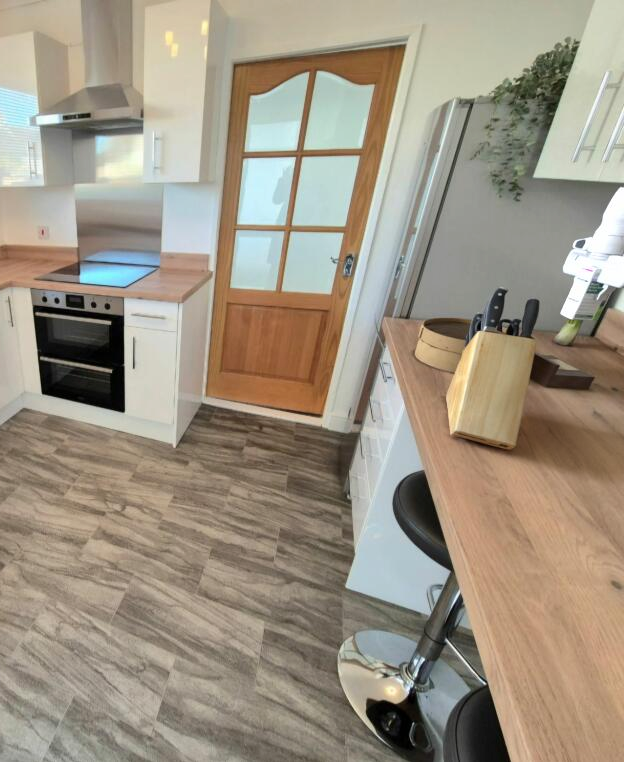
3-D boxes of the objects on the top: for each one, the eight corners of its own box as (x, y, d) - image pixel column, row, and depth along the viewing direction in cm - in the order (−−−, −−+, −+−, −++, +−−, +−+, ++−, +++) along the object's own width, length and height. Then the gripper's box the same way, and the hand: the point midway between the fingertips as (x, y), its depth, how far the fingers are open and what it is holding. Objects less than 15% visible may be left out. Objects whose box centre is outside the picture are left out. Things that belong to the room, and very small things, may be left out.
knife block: (492, 394, 120) (540, 285, 107) (511, 457, 94) (579, 323, 80) (443, 384, 126) (483, 279, 112) (448, 441, 100) (502, 313, 86)
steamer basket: (399, 358, 144) (409, 326, 139) (429, 342, 157) (439, 312, 152) (490, 384, 126) (506, 349, 121) (515, 363, 139) (530, 330, 134)
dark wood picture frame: (547, 366, 137) (557, 346, 134) (588, 389, 123) (600, 367, 120) (508, 364, 139) (517, 344, 136) (545, 386, 125) (556, 365, 121)
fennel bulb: (572, 348, 151) (589, 315, 146) (553, 345, 154) (569, 312, 149) (570, 343, 155) (586, 311, 150) (552, 340, 158) (567, 309, 153)
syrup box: (571, 319, 122) (596, 268, 115) (558, 313, 127) (582, 264, 120) (596, 321, 120) (623, 269, 114) (582, 315, 125) (608, 265, 119)
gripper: (664, 252, 105) (634, 307, 111) (594, 240, 123) (571, 288, 129) (634, 252, 106) (606, 306, 112) (569, 240, 124) (548, 287, 130)
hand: (587, 296), depth 121 cm, fingers closed on syrup box, 6 cm apart
